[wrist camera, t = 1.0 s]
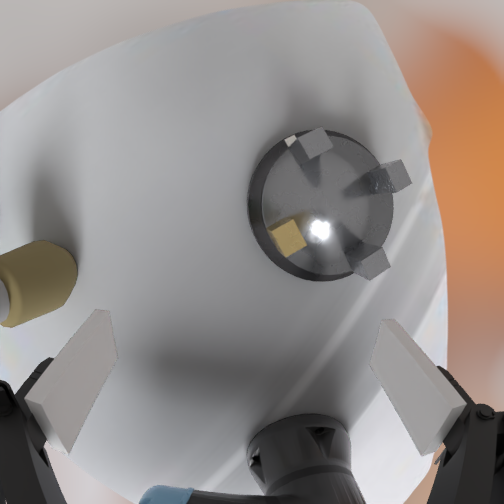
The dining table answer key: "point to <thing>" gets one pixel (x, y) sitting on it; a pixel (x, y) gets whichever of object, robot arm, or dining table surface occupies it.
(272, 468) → the robot arm
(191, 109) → the dining table surface
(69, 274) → the squeeze bottle
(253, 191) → the mounting flange
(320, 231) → the four-lug metal disc
